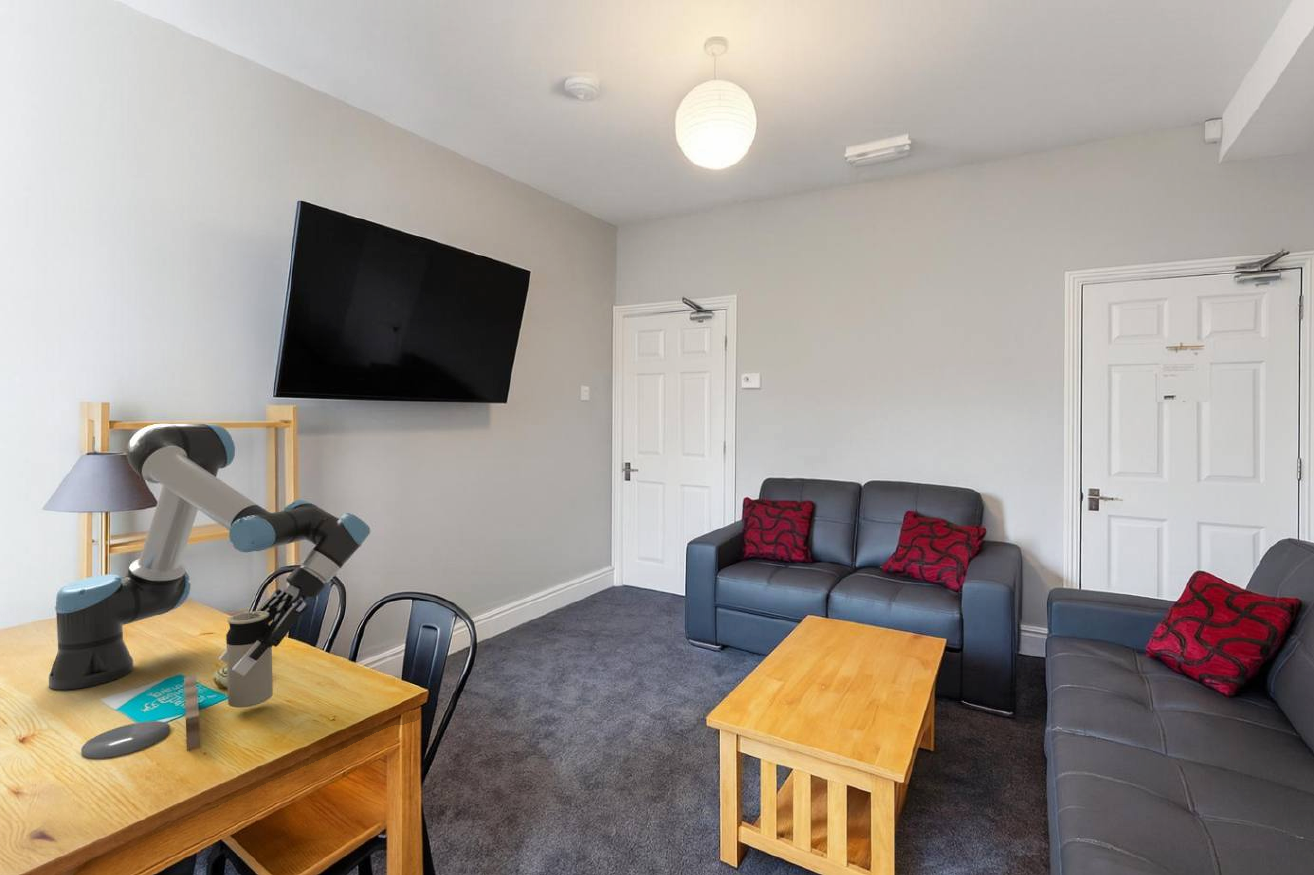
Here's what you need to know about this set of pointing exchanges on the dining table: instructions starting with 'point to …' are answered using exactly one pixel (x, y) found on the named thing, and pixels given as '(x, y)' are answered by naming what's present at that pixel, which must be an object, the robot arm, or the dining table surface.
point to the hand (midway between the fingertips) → (231, 667)
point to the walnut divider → (191, 713)
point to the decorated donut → (221, 678)
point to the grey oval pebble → (125, 739)
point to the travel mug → (259, 677)
